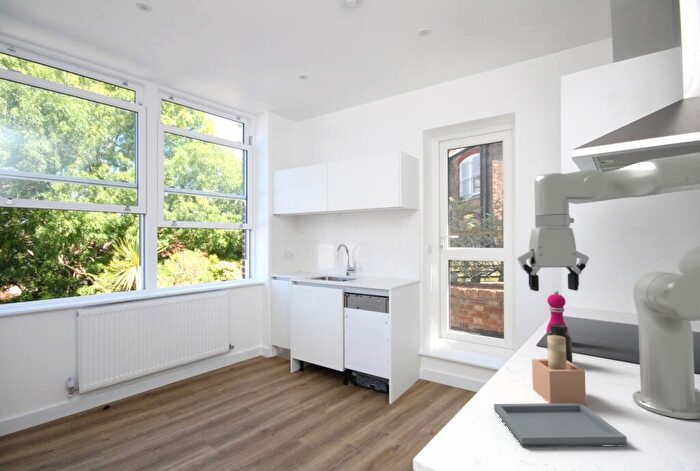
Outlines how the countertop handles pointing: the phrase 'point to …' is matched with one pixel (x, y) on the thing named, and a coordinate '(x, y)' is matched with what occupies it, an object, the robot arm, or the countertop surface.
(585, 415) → the tray
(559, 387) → the deep cup
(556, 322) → the pepper mill
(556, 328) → the supplement bottle
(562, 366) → the dowel
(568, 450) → the countertop surface
